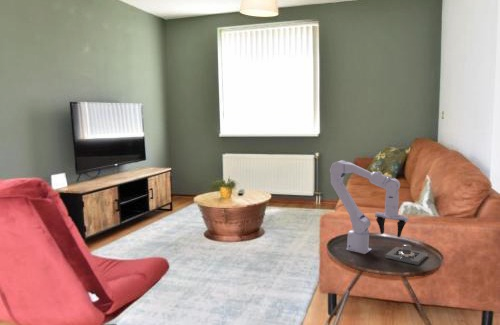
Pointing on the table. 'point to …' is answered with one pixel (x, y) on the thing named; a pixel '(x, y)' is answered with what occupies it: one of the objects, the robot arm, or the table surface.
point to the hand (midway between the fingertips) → (390, 234)
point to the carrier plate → (418, 259)
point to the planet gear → (406, 251)
